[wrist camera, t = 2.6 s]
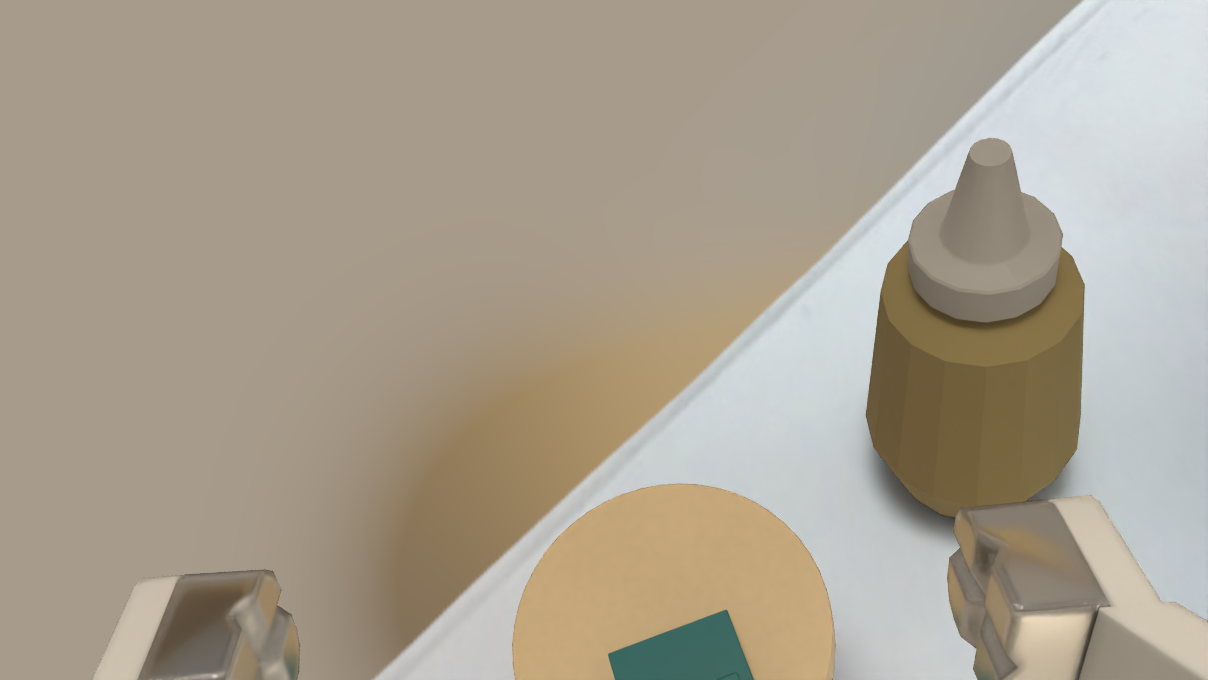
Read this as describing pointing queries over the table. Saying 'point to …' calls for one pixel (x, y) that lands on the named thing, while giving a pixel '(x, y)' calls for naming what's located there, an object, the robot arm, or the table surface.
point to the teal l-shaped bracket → (685, 654)
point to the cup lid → (674, 586)
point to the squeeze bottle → (979, 345)
